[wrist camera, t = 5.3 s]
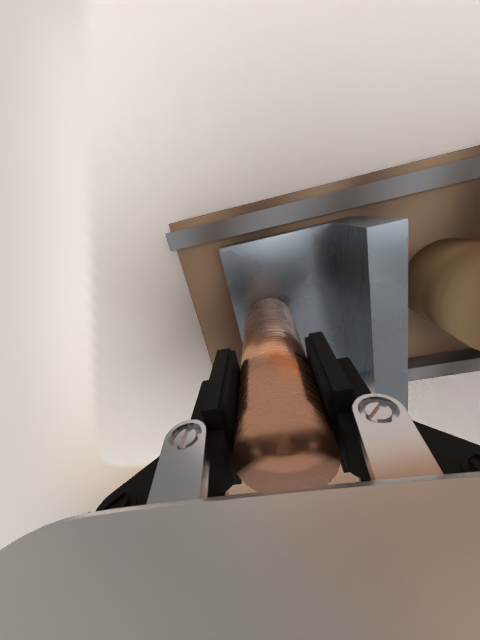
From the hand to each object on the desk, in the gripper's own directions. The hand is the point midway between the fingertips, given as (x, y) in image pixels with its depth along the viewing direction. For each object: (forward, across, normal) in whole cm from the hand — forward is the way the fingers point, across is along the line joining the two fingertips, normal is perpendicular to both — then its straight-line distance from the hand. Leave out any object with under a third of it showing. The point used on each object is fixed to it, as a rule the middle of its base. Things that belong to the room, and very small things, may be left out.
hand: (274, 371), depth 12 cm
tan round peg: (+7, -11, 0) cm, 13 cm away
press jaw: (+7, -2, 0) cm, 7 cm away
